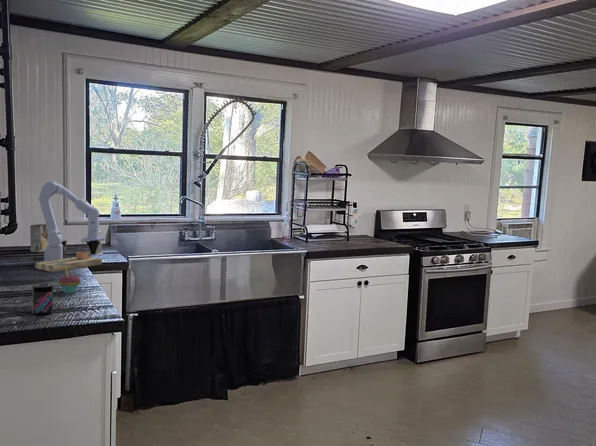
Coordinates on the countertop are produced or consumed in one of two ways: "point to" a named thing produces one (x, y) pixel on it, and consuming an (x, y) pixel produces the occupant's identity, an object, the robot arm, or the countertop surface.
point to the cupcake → (69, 282)
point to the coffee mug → (64, 247)
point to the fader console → (67, 264)
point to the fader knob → (82, 255)
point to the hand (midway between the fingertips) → (93, 254)
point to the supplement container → (42, 299)
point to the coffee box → (38, 237)
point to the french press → (99, 248)
